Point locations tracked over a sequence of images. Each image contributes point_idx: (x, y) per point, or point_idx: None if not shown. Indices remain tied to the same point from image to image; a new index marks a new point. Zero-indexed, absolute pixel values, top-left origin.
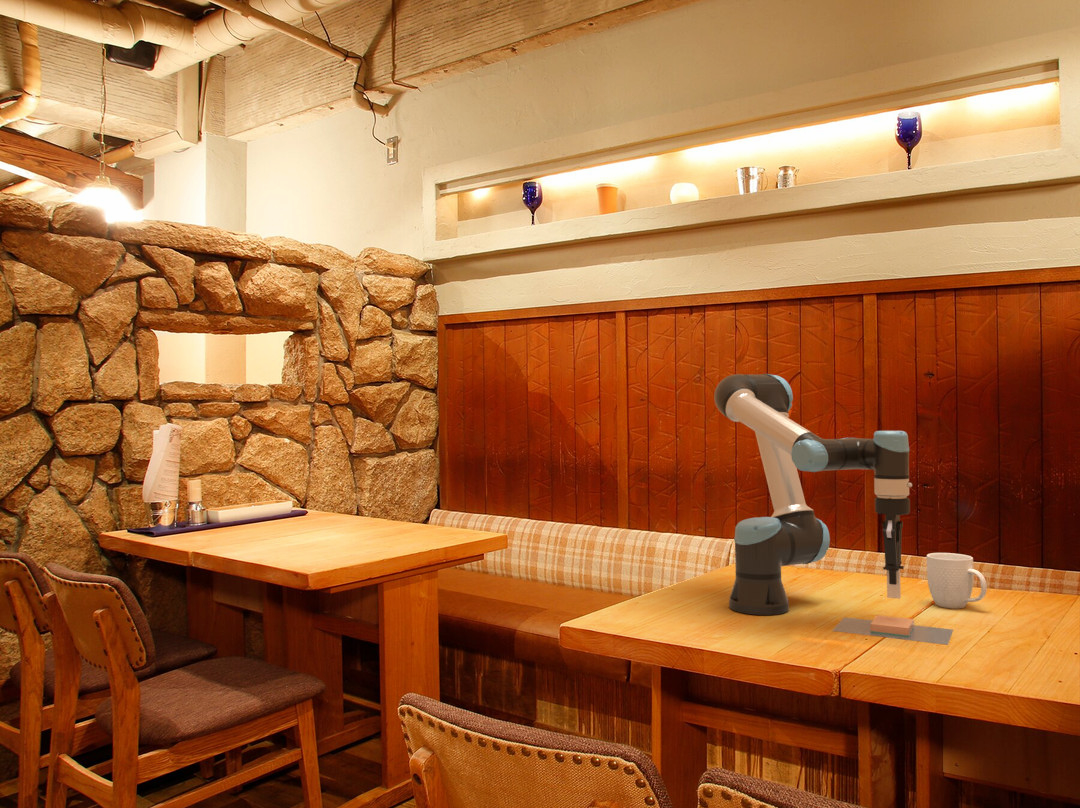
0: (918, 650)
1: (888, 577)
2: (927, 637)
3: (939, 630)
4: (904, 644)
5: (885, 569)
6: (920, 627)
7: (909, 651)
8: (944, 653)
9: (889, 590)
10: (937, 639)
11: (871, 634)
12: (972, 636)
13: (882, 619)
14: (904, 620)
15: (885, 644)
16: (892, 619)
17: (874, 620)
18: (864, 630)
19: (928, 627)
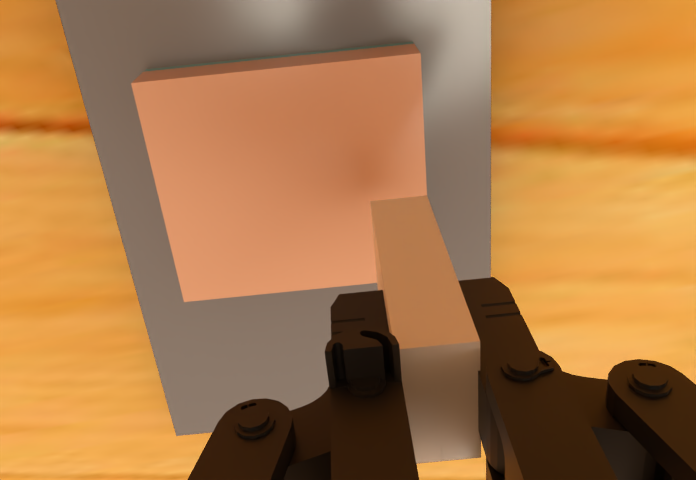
0: (68, 330)
1: (386, 310)
2: (252, 345)
3: None
4: None
5: (341, 355)
6: None
7: (17, 303)
8: (104, 420)
9: (376, 248)
10: (243, 387)
11: (104, 86)
12: (482, 453)
13: (312, 119)
14: (366, 241)
15: (55, 176)
16: (349, 175)
17: (248, 79)
18: (173, 17)
19: None
